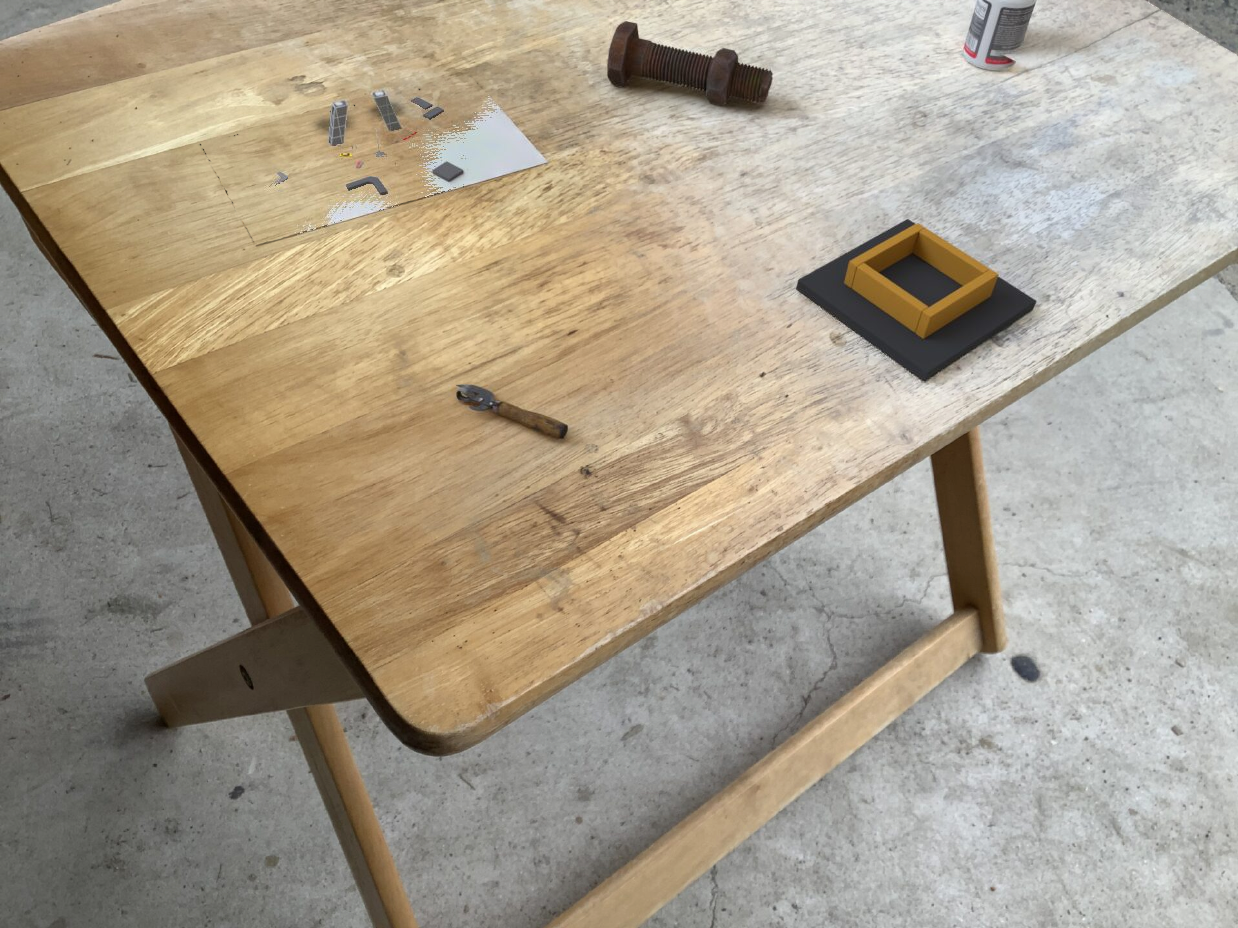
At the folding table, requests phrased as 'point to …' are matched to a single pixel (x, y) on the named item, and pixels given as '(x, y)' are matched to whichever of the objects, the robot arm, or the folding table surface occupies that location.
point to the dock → (916, 298)
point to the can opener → (511, 411)
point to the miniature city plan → (484, 149)
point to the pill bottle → (997, 32)
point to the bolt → (685, 68)
